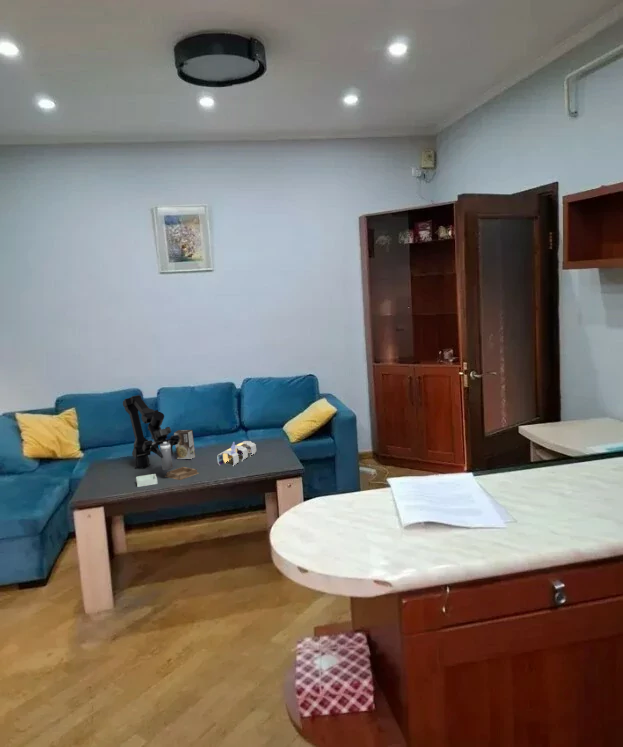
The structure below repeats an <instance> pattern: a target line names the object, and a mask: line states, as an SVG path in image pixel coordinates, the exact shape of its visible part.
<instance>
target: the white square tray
mask: <svg viewBox="0 0 623 747" xmlns="http://www.w3.org/2000/svg"><path fill="white" fill-rule="evenodd" d="M135 480H136V481H135V482H136V485H137V488H140V487H146V486H147V487H148V486H151V485H158V477H157V474H156V473H152V474H145V475H139V476H136V477H135Z"/></svg>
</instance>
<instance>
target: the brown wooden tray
mask: <svg viewBox="0 0 623 747" xmlns="http://www.w3.org/2000/svg"><path fill="white" fill-rule="evenodd" d="M199 474H200V472H198V470H197V469H195V468H191V467H186V466H181V467H178V468H176V469H171V470H170V471H169V470H168V471H166V475H164V477H165V478H168V479H169V478H170V479H172V480H173V479H174V480H178V481H182V480H185V479H188V478H190V477H194V476H195V475H199Z"/></svg>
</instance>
